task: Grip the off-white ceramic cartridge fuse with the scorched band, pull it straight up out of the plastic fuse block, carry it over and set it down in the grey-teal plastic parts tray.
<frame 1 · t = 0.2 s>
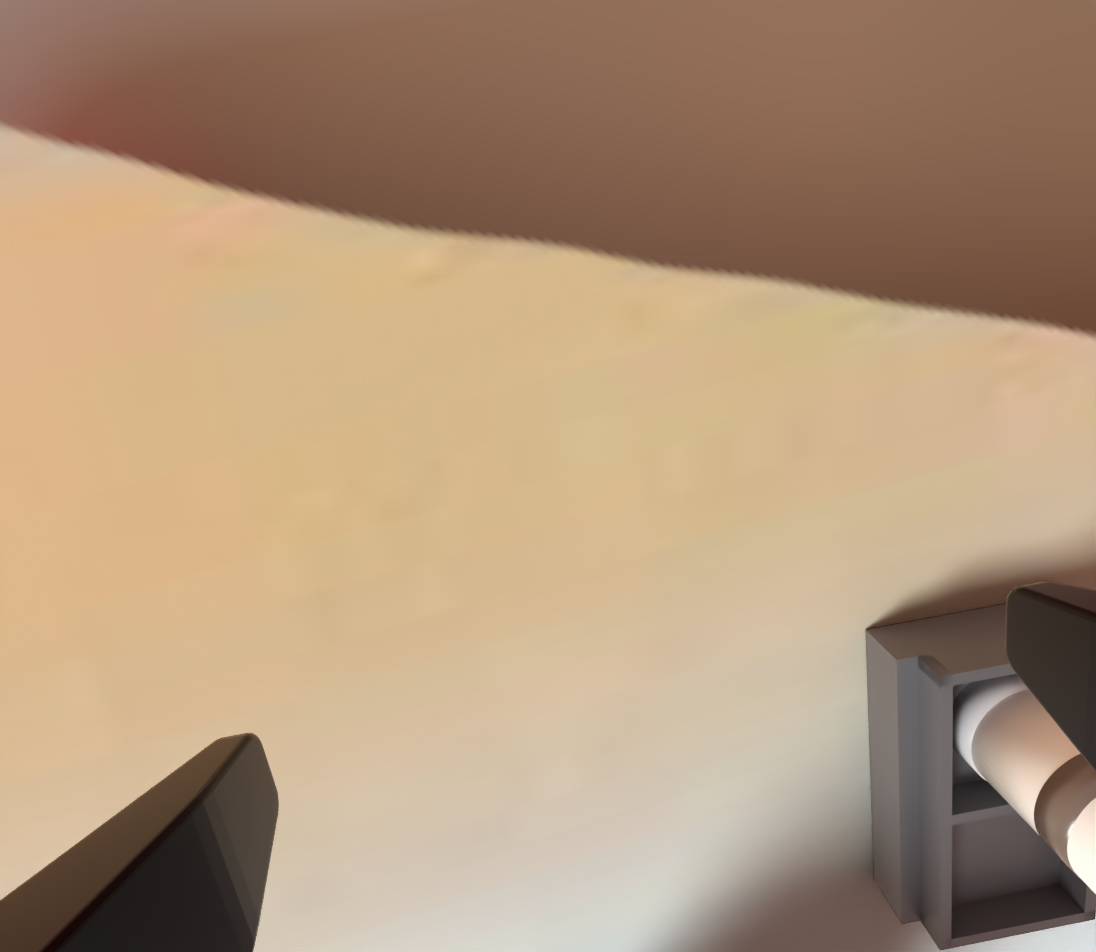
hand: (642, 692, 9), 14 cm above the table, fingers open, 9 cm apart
fuse: (1000, 715, 24), point 2 cm above the table, touching fuse block
fuse block: (962, 744, 27), on the table
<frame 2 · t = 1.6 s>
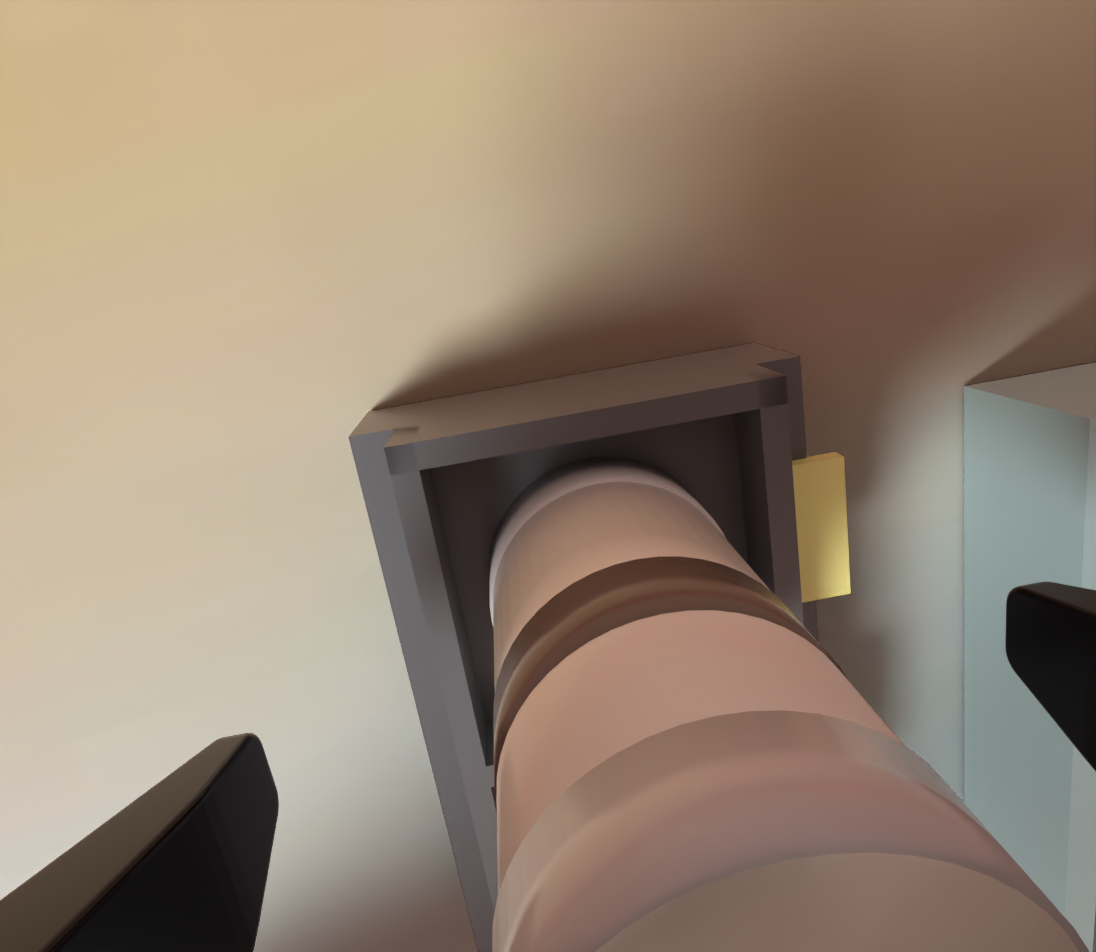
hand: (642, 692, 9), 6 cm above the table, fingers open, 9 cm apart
fuse: (602, 565, 12), point 2 cm above the table, touching fuse block
fuse block: (606, 646, 15), on the table
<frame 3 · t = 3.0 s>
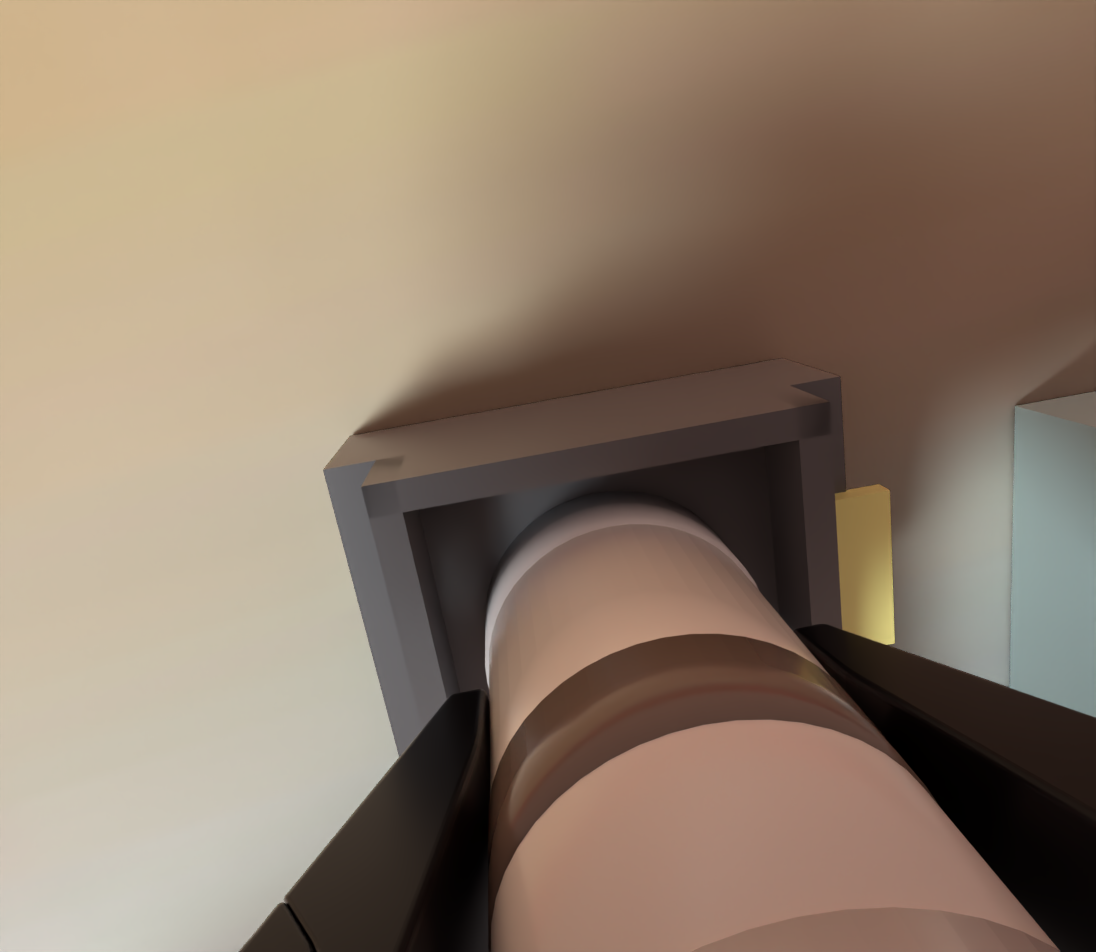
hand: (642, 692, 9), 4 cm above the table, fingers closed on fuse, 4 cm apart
fuse: (613, 613, 11), point 2 cm above the table, touching fuse block, gripper
fuse block: (615, 693, 13), on the table
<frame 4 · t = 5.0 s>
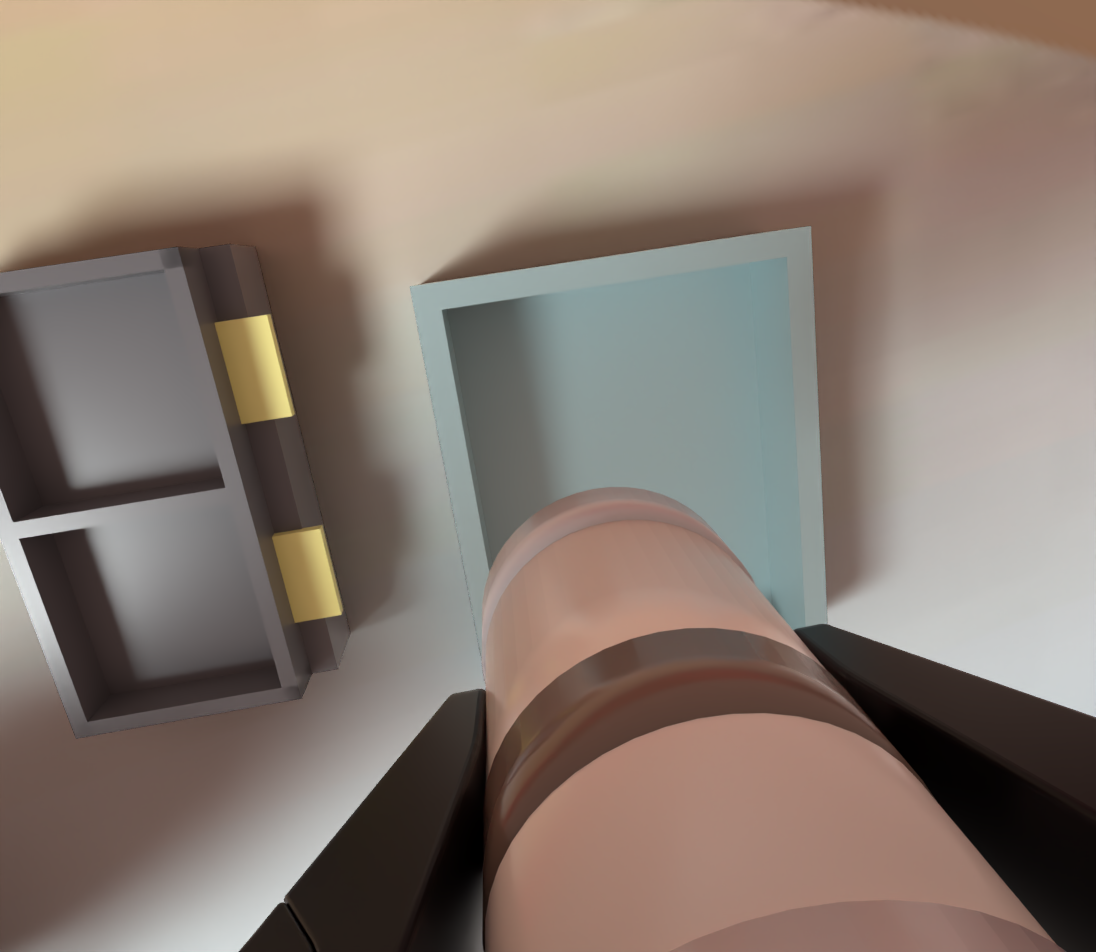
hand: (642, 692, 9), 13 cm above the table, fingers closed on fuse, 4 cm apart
tray: (619, 473, 21), on the table
fuse: (611, 610, 11), point 11 cm above the table, touching gripper
fuse block: (177, 475, 20), on the table
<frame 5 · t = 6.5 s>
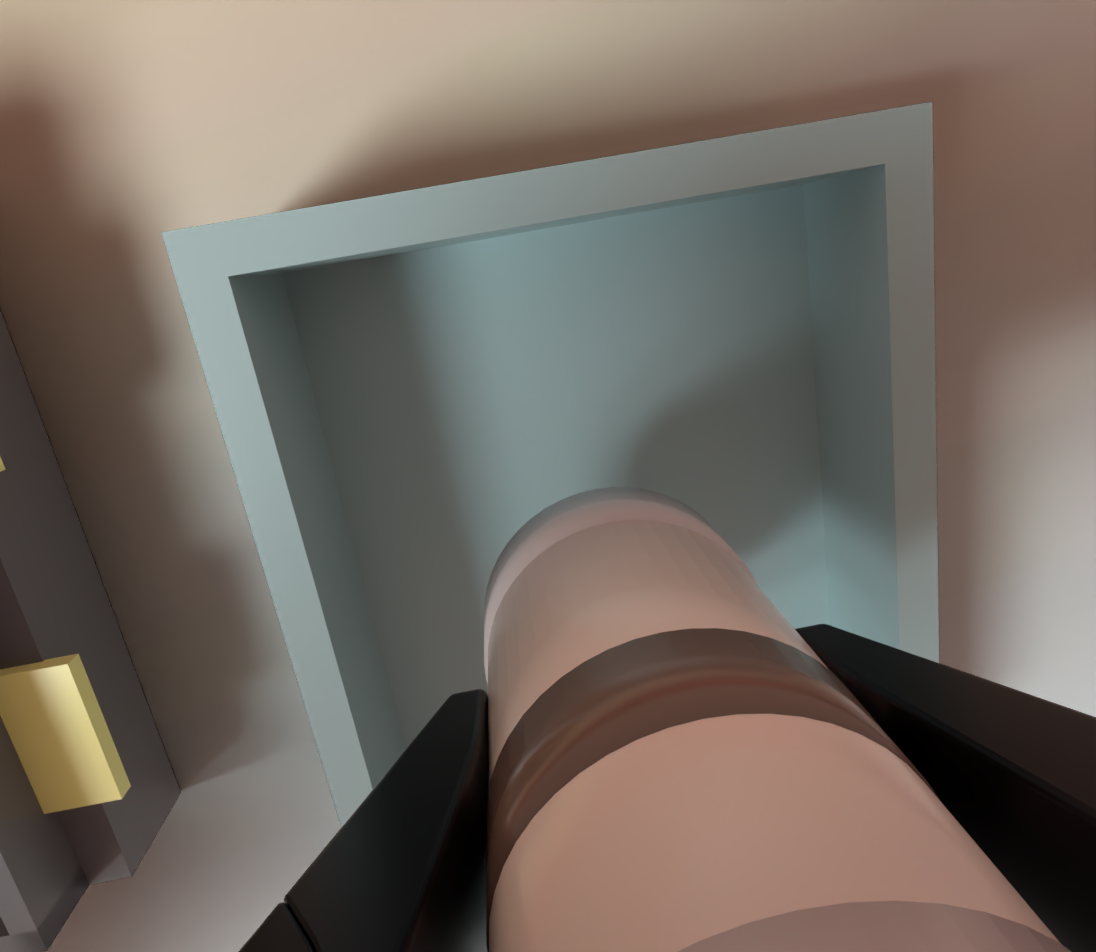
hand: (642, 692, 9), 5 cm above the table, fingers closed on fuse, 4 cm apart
tray: (592, 542, 13), on the table
fuse: (613, 610, 11), point 3 cm above the table, touching gripper
when the fingers open (4 cm above the table, at t = 7.4 s): fuse drops 1 cm, resting on tray.
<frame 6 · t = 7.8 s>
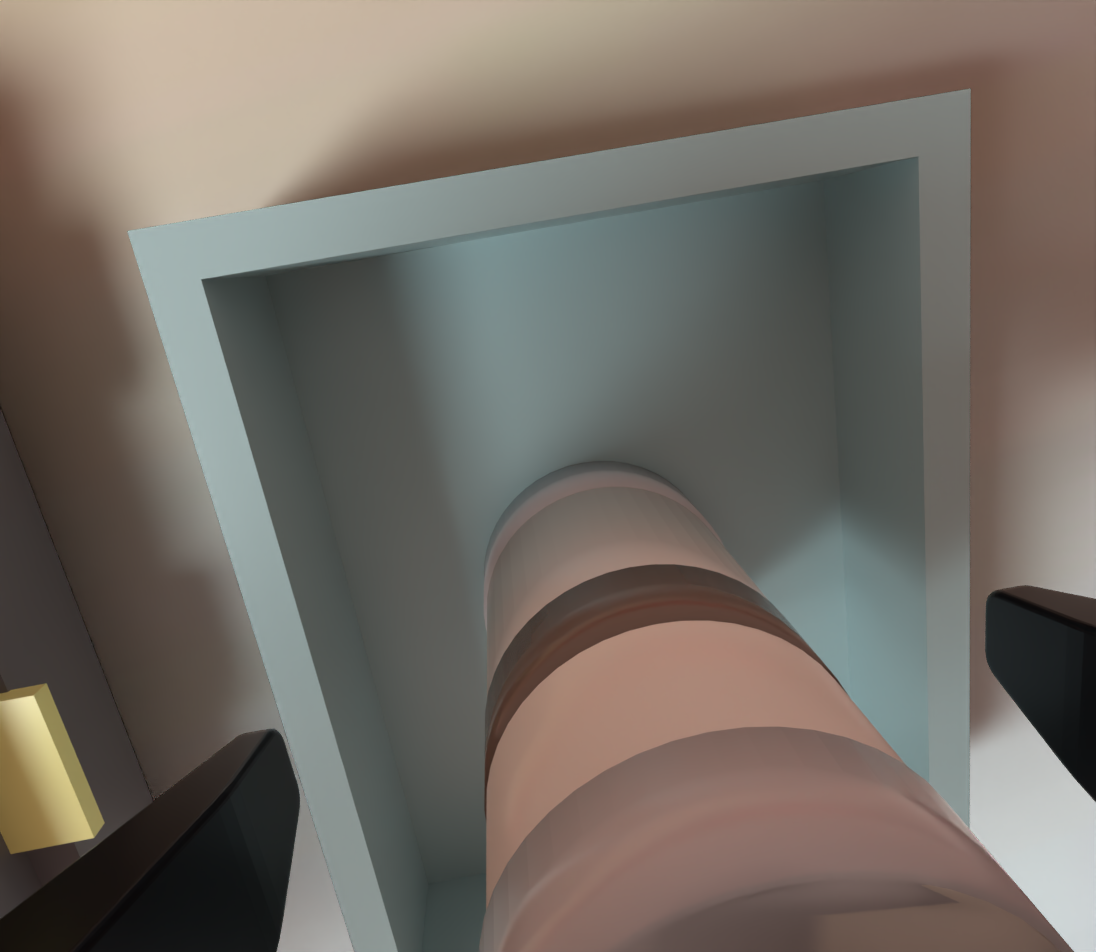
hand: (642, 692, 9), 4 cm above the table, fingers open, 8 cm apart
tray: (596, 560, 12), on the table
fuse: (598, 571, 12), point 1 cm above the table, touching tray
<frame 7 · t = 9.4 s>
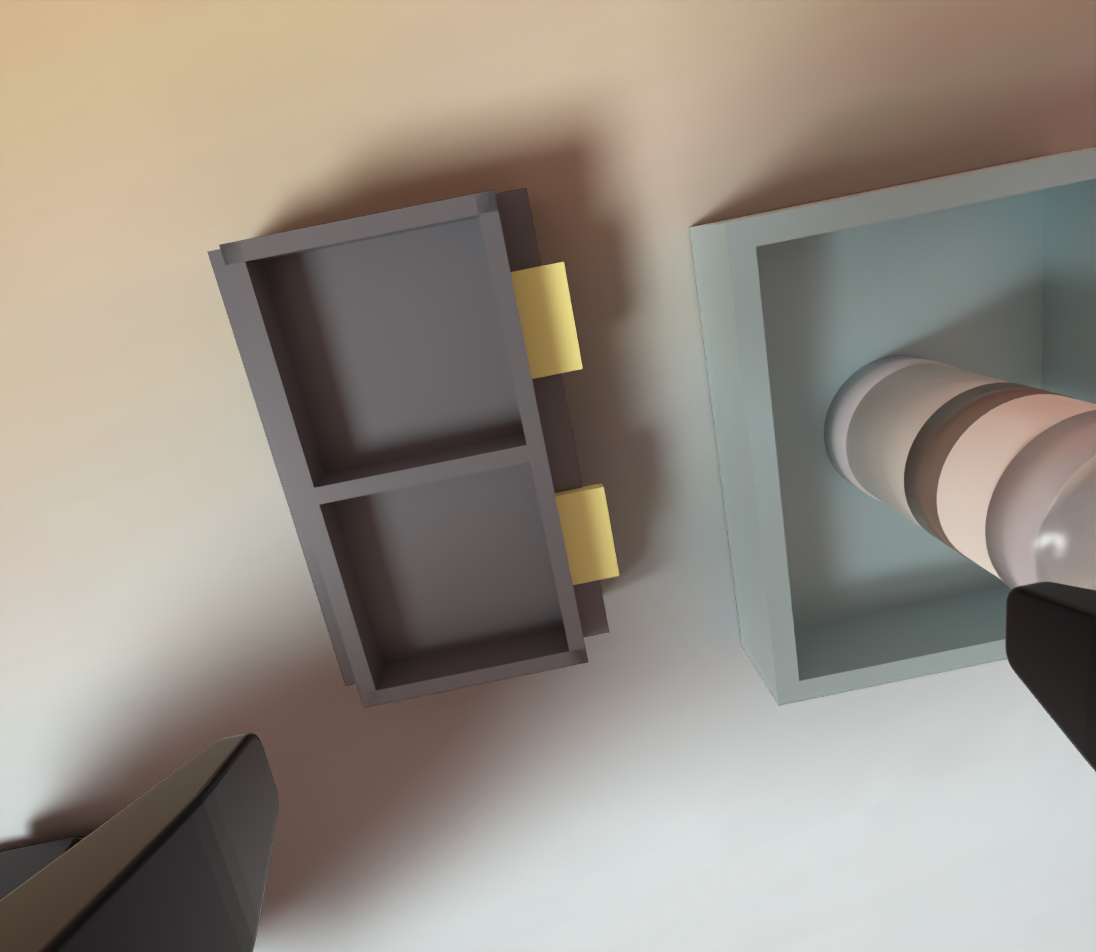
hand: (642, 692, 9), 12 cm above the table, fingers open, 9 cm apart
tray: (882, 421, 20), on the table
fuse: (892, 425, 19), point 1 cm above the table, touching tray
fuse block: (434, 439, 19), on the table
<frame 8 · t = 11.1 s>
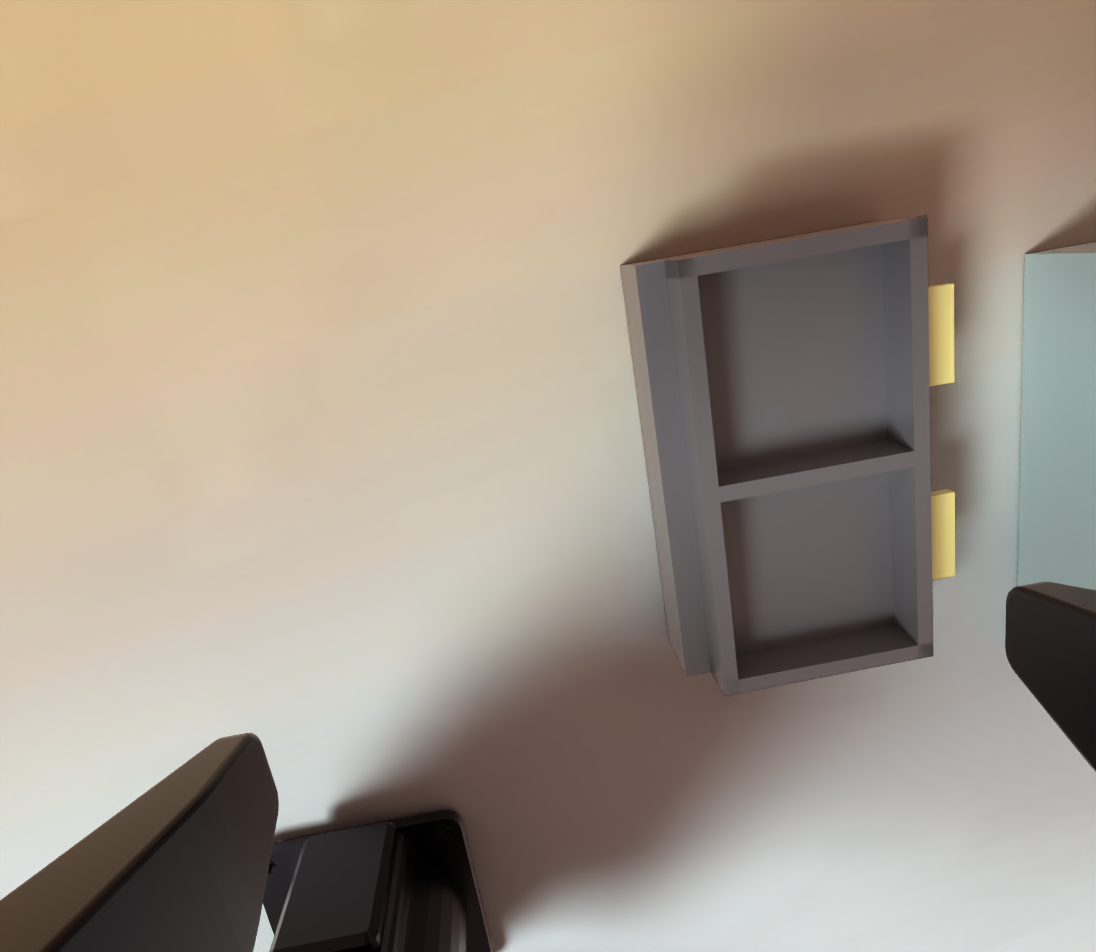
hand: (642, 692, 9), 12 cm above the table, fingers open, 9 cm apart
fuse block: (768, 445, 21), on the table
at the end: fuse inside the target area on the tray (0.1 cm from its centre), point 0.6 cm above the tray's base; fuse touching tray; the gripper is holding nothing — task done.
